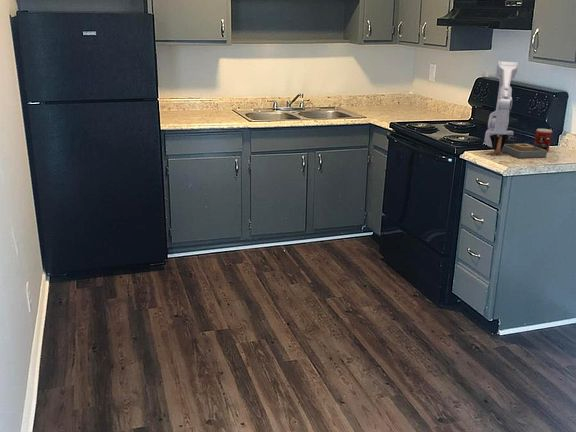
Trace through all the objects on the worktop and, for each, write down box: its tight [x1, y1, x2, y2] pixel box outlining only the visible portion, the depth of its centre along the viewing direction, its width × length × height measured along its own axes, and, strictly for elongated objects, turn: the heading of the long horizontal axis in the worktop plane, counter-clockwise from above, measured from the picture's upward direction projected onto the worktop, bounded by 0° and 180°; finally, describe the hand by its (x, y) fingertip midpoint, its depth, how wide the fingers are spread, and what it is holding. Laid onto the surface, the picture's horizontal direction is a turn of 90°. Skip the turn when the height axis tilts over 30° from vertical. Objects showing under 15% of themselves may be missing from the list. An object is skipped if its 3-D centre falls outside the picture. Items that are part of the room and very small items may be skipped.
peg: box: [492, 136, 502, 156], centre depth 296 cm, size 3×3×9 cm
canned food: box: [533, 128, 553, 153], centre depth 307 cm, size 8×8×11 cm
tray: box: [500, 143, 548, 160], centre depth 298 cm, size 16×16×5 cm
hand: (497, 149), depth 296 cm, fingers closed on peg, 3 cm apart
